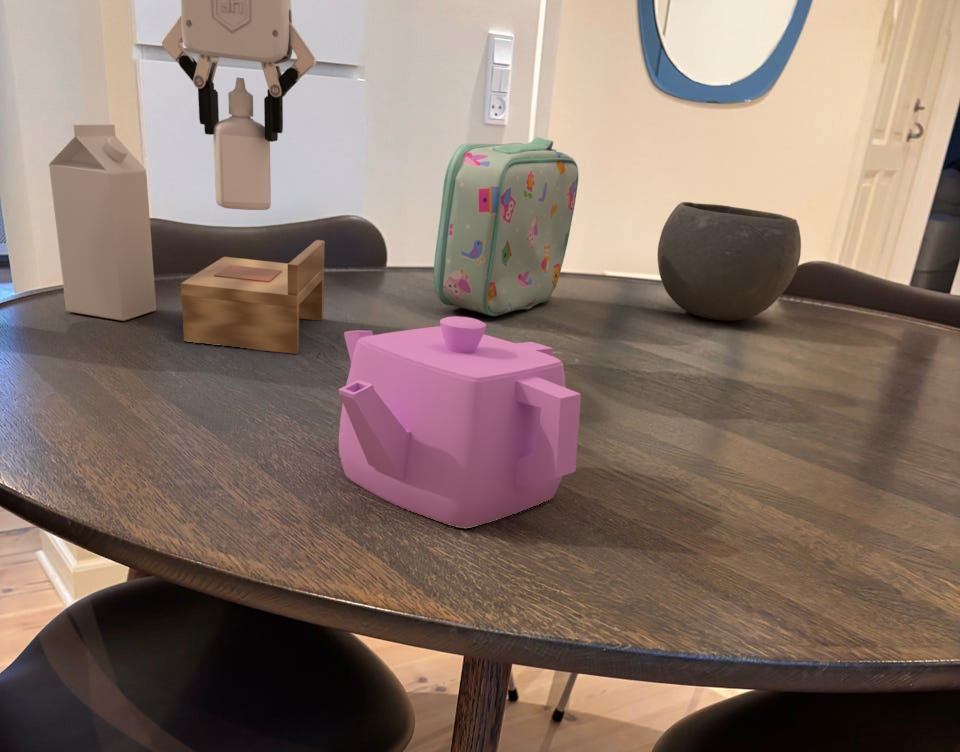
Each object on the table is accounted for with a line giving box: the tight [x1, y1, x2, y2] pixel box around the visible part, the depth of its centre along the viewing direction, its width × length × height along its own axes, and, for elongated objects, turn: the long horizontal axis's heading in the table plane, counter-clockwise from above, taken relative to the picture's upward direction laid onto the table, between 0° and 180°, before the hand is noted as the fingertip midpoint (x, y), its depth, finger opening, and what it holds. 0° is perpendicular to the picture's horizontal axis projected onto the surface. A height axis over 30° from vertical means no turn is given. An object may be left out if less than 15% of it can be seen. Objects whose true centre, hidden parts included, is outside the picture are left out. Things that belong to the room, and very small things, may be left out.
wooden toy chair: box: [180, 239, 325, 355], centre depth 105 cm, size 12×18×9 cm, turn 179°
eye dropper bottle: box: [212, 77, 272, 211], centre depth 97 cm, size 4×6×12 cm
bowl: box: [657, 201, 802, 322], centre depth 138 cm, size 20×20×15 cm
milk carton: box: [48, 124, 157, 322], centre depth 102 cm, size 7×7×19 cm
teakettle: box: [338, 315, 582, 527], centre depth 68 cm, size 17×17×12 cm
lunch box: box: [433, 136, 579, 317], centre depth 128 cm, size 27×10×21 cm, turn 154°
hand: (241, 135), depth 96 cm, fingers closed on eye dropper bottle, 5 cm apart
